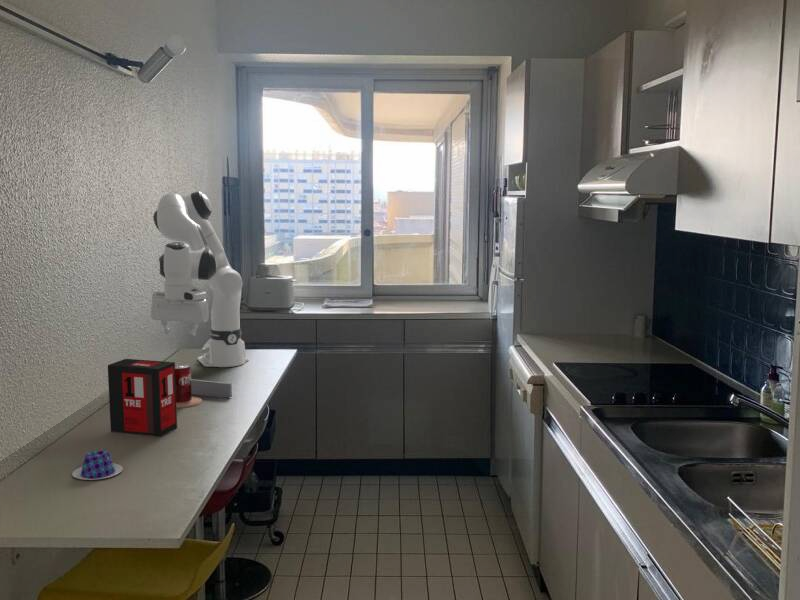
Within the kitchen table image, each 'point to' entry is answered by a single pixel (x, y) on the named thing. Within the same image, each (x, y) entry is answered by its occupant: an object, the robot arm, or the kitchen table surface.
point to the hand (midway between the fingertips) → (180, 334)
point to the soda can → (183, 383)
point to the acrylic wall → (211, 388)
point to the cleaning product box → (142, 397)
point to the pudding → (97, 466)
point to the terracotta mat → (190, 403)
